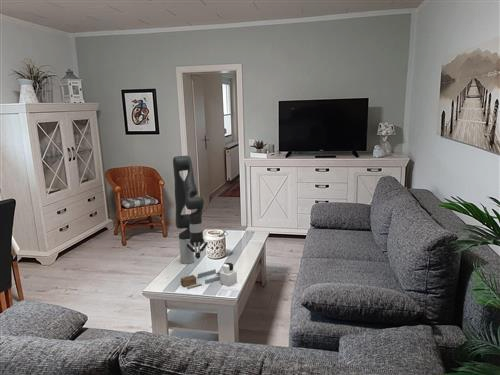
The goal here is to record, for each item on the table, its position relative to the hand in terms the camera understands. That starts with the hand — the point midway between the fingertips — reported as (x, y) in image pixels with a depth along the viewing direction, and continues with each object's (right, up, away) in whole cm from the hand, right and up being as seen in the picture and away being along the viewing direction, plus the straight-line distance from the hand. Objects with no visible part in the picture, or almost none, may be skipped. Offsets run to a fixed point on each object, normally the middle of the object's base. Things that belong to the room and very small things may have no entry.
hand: (198, 258), depth 227 cm
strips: (-4, -15, 0) cm, 16 cm away
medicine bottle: (+18, -15, 0) cm, 24 cm away
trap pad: (+14, -13, +11) cm, 22 cm away
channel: (+7, -14, +7) cm, 17 cm away
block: (-5, -16, -1) cm, 17 cm away
